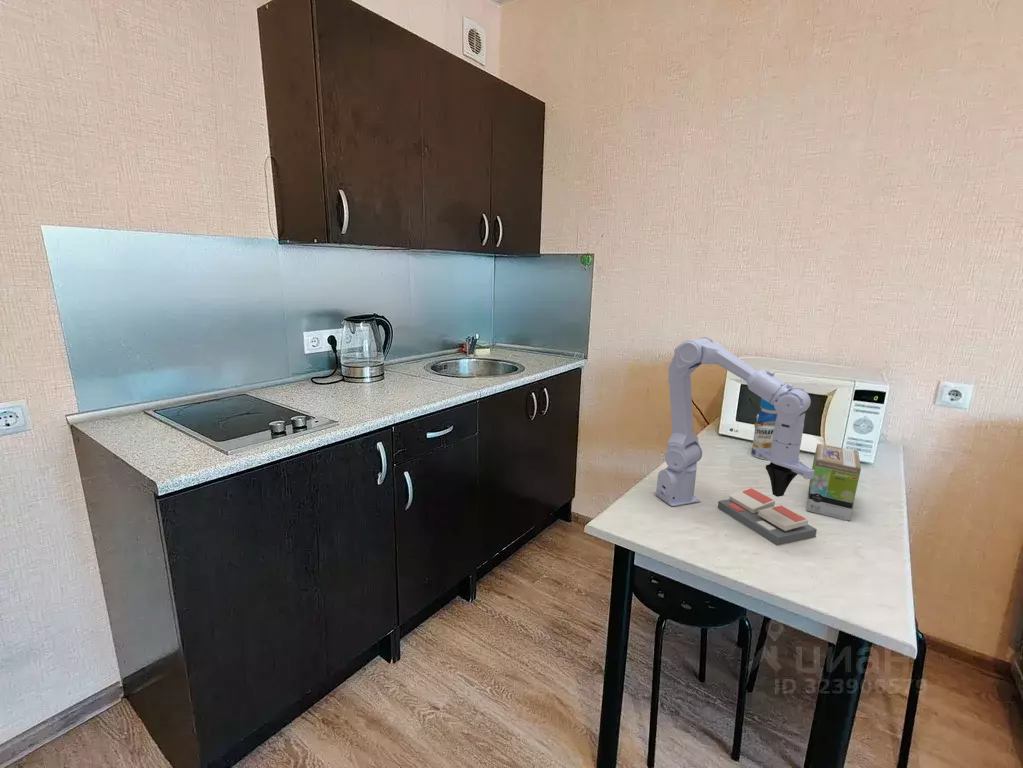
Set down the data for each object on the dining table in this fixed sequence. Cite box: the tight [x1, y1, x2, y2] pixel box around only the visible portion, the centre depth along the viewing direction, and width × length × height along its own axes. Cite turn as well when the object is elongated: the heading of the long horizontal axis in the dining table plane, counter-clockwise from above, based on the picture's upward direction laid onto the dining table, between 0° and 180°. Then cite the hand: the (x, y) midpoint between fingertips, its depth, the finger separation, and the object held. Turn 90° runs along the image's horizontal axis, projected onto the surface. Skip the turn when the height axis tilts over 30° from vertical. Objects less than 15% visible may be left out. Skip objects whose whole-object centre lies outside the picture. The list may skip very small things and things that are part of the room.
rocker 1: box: [728, 487, 776, 514], centre depth 129 cm, size 7×8×1 cm
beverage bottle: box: [750, 398, 777, 461], centre depth 166 cm, size 8×8×20 cm
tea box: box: [806, 443, 862, 522], centre depth 133 cm, size 15×10×15 cm
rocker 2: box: [758, 504, 809, 531], centre depth 120 cm, size 7×8×1 cm
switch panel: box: [717, 498, 818, 546], centre depth 125 cm, size 12×19×3 cm, turn 20°
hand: (777, 495), depth 118 cm, fingers closed
